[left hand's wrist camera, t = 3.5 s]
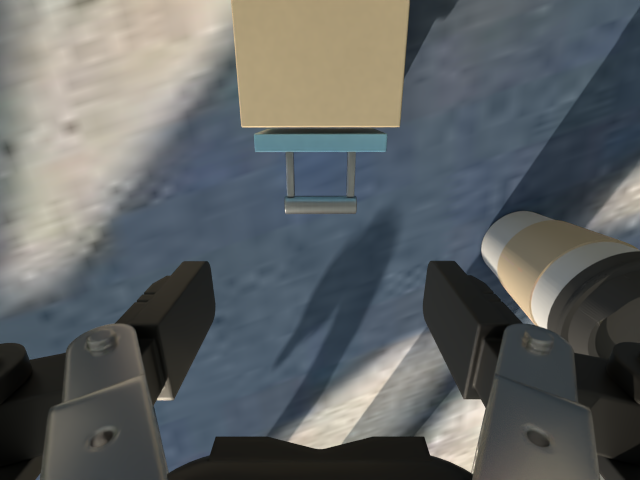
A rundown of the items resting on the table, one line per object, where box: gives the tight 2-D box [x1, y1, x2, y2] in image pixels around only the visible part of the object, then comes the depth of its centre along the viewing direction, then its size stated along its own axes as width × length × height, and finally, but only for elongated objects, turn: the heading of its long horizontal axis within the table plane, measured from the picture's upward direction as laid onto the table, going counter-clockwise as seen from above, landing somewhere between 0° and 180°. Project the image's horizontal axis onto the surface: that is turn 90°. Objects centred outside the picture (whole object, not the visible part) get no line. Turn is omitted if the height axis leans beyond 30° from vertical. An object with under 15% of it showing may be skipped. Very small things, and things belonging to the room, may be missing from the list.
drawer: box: [254, 128, 387, 214], centre depth 24 cm, size 24×9×6 cm, turn 0°
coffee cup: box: [481, 211, 640, 359], centre depth 27 cm, size 9×9×15 cm
